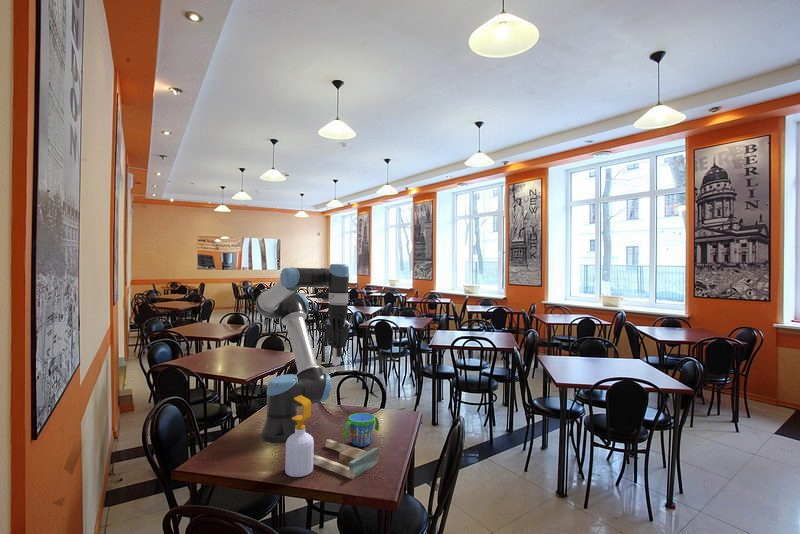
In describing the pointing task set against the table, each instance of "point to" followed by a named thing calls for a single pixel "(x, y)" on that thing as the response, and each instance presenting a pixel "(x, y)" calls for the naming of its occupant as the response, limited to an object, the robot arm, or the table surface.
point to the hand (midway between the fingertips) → (336, 364)
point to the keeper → (349, 455)
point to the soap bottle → (300, 444)
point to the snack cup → (361, 428)
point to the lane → (354, 467)
